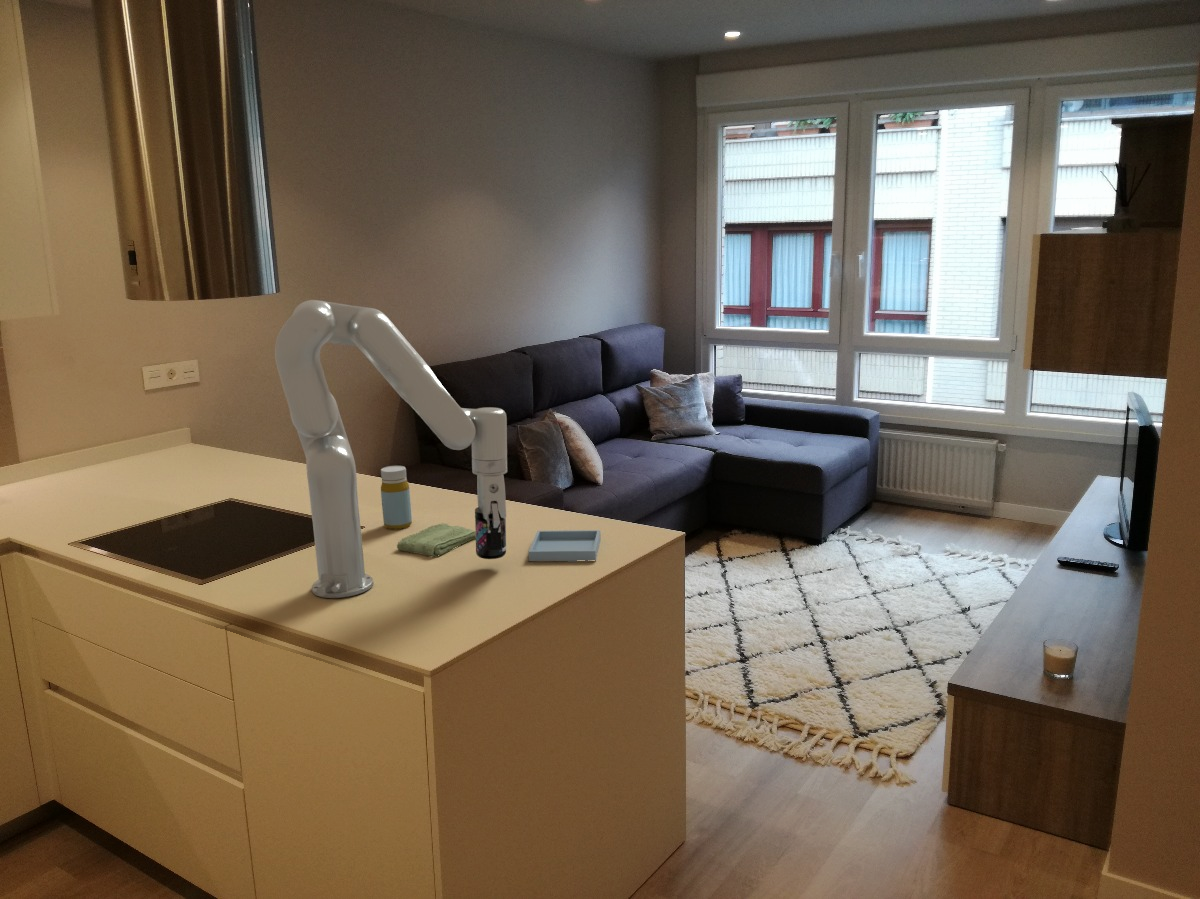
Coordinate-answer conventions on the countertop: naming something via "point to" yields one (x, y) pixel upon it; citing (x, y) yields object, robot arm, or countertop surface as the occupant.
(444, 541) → the washcloth
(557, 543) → the tray
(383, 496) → the bottle
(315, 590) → the robot arm
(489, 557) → the supplement container
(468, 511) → the countertop surface
